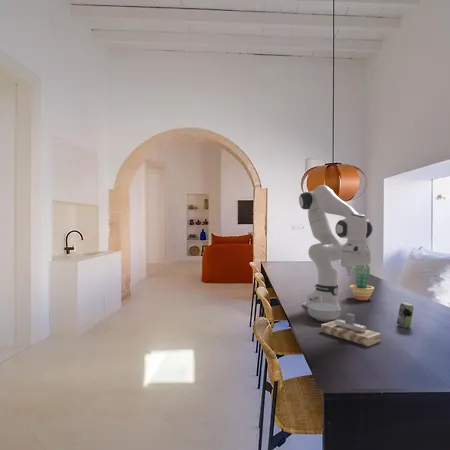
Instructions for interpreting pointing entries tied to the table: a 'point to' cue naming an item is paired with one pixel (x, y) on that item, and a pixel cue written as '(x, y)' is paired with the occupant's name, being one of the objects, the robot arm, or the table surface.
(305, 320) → the table surface
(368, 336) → the beige flat rectangular block
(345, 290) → the table surface
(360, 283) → the potted cactus
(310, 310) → the cereal bowl
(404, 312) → the beverage can
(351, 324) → the gray u-shaped bracket
